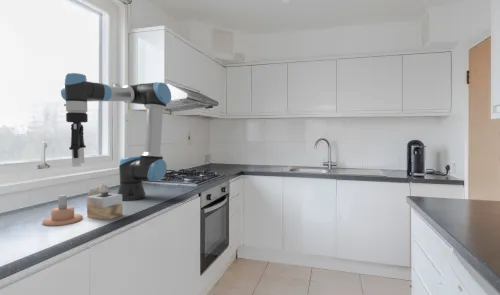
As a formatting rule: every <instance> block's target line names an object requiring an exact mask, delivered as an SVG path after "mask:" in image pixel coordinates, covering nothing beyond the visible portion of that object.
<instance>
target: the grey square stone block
mask: <svg viewBox="0 0 500 295" xmlns="http://www.w3.org/2000/svg"><path fill="white" fill-rule="evenodd" d="M85 202H86V207H87V206H89V207H96V208H107V207H111V206H114V205H118V204H122V205H123V200H122V194H118V193H112V192H110V193H108V196H107V197H101V194H98V195H93V196H88V195H87V196H86V200H85Z"/></svg>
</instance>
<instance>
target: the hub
mask: <svg viewBox="0 0 500 295" xmlns="http://www.w3.org/2000/svg"><path fill="white" fill-rule="evenodd" d="M57 203H58V207H55V208H52V209H51V210H50V214H51V215H50V217H46V218H44V219H43V220H42V225H43V226H47V227H58V226H59V227H60V226H67V225H72V224H75V223H78V222H80V221H82V220H83V217H84V216H83V215H82V214H80V213H75V207H74V206H68V196H67V194H62V195H61V194H60V195H57Z"/></svg>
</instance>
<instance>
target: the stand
mask: <svg viewBox="0 0 500 295" xmlns="http://www.w3.org/2000/svg"><path fill="white" fill-rule="evenodd" d="M107 196H108V192H101V197H107ZM86 209H87V210H86V214H87V215H86V217H87V218H94V219H99V220H105V221H108V220H113V219H114V218H117V217H118V218H119V217H121V216H123V203H122V204H118V205H114V206H111V207H107V208H96V207H89V206H87V205H86Z"/></svg>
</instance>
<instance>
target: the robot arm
mask: <svg viewBox="0 0 500 295" xmlns="http://www.w3.org/2000/svg"><path fill="white" fill-rule="evenodd" d="M60 94H61V95H60V96H61V98H62V99H63V100H64V101H65V103H64V104H63V106H64V107H65V111H66V114H65V119H66V120H65V121H66V123H71V127H70V130H71V135H70V137H71V138H70V147H69V150H70V151H71V165H72V166H71V167H73V168H74V167H76V168H77V167H81V164H85V148H87V147H86V145H85V139H84V125H83V124H82V123H88V121H89V120H88V119H89V118H88V113H87V112H88V102H124V103H126V104H135V105H144V106H143V107H145V109H146V115H145V116H146V117H145V129H144V130H145V131H144V143H143V144H144V145H143V152H142V154H141V155H138V156H137V155H136V156H131V157H121V158H120V160H119V165H118V166H119V187H118V191H117V194H122V201H135V200H136V201H139V200H141V199H145V198H146V196H147V195H146V191H145V188H144V185H143V181H149V182H154V181H155V182H156V181H157V182H158V181H161V179H163V178H164V177H165V175H166V172H167V169H168V168H167V167H168V166H167V163H166V161H165V160H164V159H163V158H164V156H163V155H162V154H161V147H162V146H161V145H162V132H163V131H162V130H163V117H164V116H163V115H164V111H165V109H167V104H169V103H170V102H171V101H172V92H171V90H170V87H169V86H168V85H167V84H166V83H165V82H156V81H155V82H149V83H148V82H147V83H146V82H145V83H139V84H138V83H137V84H133V85H129V84H126V85H124V86H111V85H108V84H106V83H103V82H101V83H100V82H95V81H88V78H87V75H86V74H84V73H78V72H77V73H76V72H69V73H66V74H65V75H64V85H63V87H61V90H60Z"/></svg>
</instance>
